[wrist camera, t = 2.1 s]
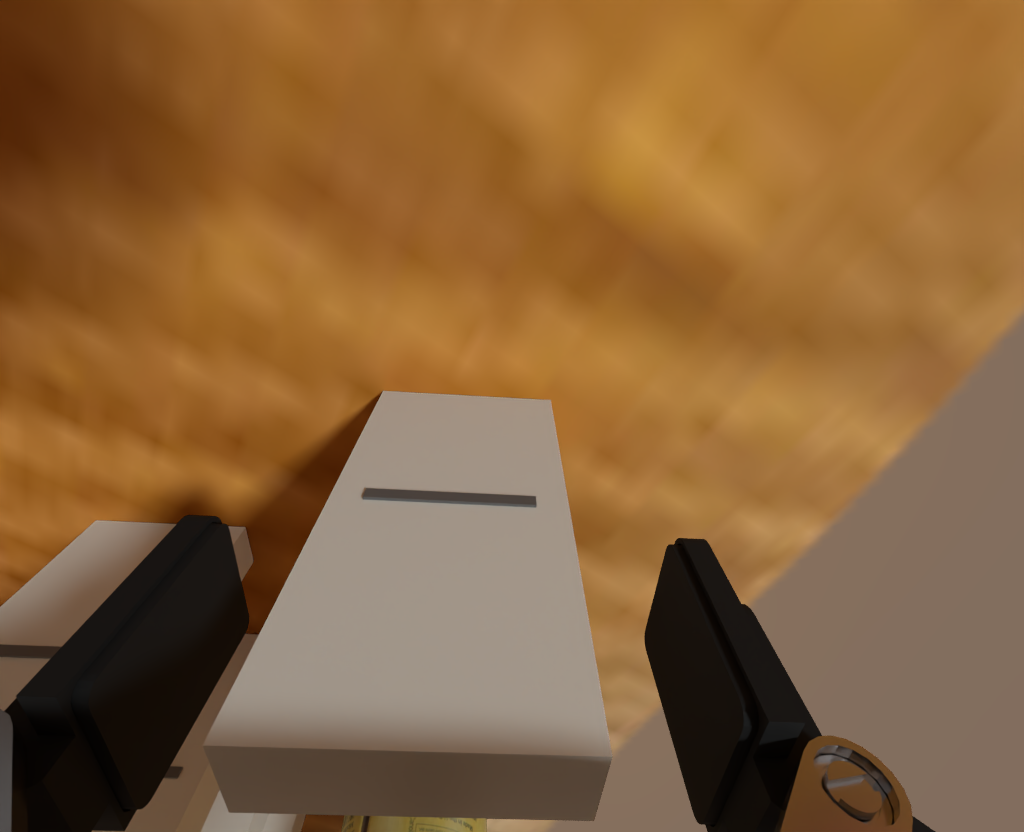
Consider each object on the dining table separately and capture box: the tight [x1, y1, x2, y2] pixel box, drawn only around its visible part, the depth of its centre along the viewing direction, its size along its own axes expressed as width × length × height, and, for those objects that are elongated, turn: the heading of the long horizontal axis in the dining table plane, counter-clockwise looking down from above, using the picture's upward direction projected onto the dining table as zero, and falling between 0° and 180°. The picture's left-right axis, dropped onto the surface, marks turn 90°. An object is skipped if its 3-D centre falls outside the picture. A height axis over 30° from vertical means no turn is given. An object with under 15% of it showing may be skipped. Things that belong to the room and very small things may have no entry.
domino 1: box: [0, 520, 254, 711], centre depth 13 cm, size 2×5×10 cm, turn 86°
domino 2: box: [92, 634, 259, 832], centre depth 16 cm, size 2×5×10 cm, turn 87°
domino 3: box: [202, 391, 612, 821], centre depth 11 cm, size 2×5×10 cm, turn 86°
